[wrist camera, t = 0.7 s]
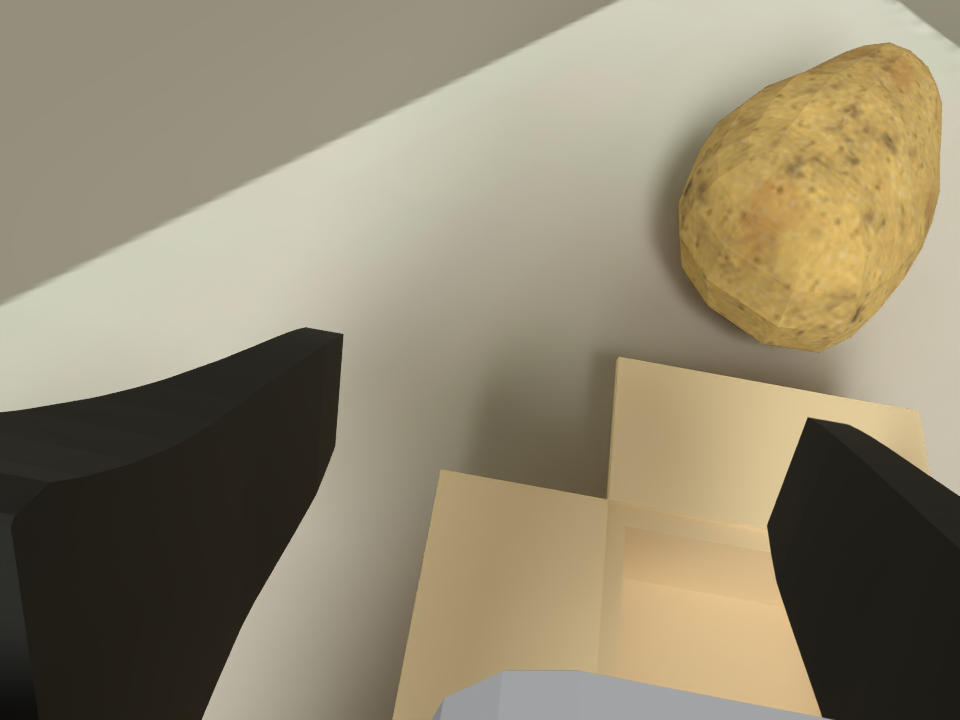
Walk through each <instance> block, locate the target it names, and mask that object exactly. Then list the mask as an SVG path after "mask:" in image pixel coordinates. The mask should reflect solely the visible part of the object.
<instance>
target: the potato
mask: <svg viewBox="0 0 960 720" xmlns="http://www.w3.org/2000/svg"><path fill="white" fill-rule="evenodd" d="M941 124H942V102H941V99H940V95H939V92H938V88H937V85H936V82H935V80H934V78H933V76H932V74H931V72H930V70H929V68H928V67H927V66H926V65H925V64H924V63H923V62H922V60H920V59H919V58H918V57H917V56H916V55H915V54H914V53H912V52H911V51H910V50H907V49H905V48H902V47H900V46H897V45H895V44H892V43H881V44H873V45H865V46H861V47H858V48H856V49H853V50H850V51H847V52H845V53H843V54H841V55H838V56H836V57H834V58H832V59H830V60H828V61H826V62H824V63H822V64H820V65H818V66H816V67H814V68H812V69H810V70H808V71H806V72H804V73H801V74H798V75H795V76H793V77H790V78H788V79H785V80H782V81H780V82H777V83H775V84H772V85H769V86H767V87H765V88H764V89H763V90H761V91H760V92H759V93H757V94H756V95H754V96H753V97H752V98H750V99H749V100H748V101H746V102H745V103H744V104H742V105H741V106H740V107H738V108H737V109H736V110H734V111H733V112H732V113H730V114H729V115H728V116H726V117H725V118H724V119H722V120H721V121H720V122H718V124H717V125H716V127H715V128H714V130H713V131H712V133H711V134H710V136H709V137H708V139H707V140H706V142H705V143H704V145H703V146H702V148H701V149H700V151H699V154H698V156H697V158H696V161H695V163H694V166H693V168H692V170H691V173H690V175H689V178H688V180H687V183H686V185H685V188H684V190H683V193H682V195H681V198H680V200H679V241H680V252H681V263H682V268H683V270H684V271H685V273H686V274H687V276H688V277H689V278H690V280H691V281H692V283H693V284H694V286H695V287H696V289H697V290H698V292H699V293H700V295H701V296H702V298H703V299H704V301H705V302H706V304H707V305H708V306H709V307H710V308H712V309H713V310H715V311H716V312H717V313H719V314H720V315H722V316H723V317H725V318H726V319H728V320H729V321H730V322H732V323H733V324H735V325H736V326H738V327H739V328H741V329H742V330H744V331H745V332H746V333H748V334H749V335H751V336H752V337H754V338H755V339H757V340H758V341H759V342H761V343H762V344H769V345H775V346H781V347H787V348H793V349H799V350H805V351H812V352H818V353H819V352H821V351H823V350H825V349H827V348H829V347H831V346H833V345H835V344H837V343H839V342H841V341H844V340H846V339H848V338H850V337H851V336H852V335H853V334H855V333H856V332H857V331H858V330H859V329H860V328H861V327H862V326H863V325H864V324H865V323H866V322H867V321H868V320H869V319H870V318H871V317H872V316H873V315H874V314H875V313H876V312H877V311H878V310H879V309H880V308H881V306H882V305H883V304H884V303H885V301H886V300H887V299H888V298H889V296H890V295H891V294H892V293H893V291H894V290H895V289H896V288H897V286H898V285H899V284H900V283H901V281H902V280H903V279H904V277H905V276H906V274H907V272H908V271H909V269H910V267H911V266H912V264H913V262H914V261H915V259H916V257H917V256H918V254H919V252H920V250H921V249H922V246H923V244H924V241H925V239H926V236H927V234H928V231H929V229H930V226H931V224H932V220H933V216H934V212H935V208H936V204H937V200H938V196H939V192H940V147H941Z"/></svg>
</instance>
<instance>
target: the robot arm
mask: <svg viewBox="0 0 960 720" xmlns="http://www.w3.org/2000/svg"><path fill="white" fill-rule="evenodd" d="M342 347H343V334H340V333H334V332H329V331H323V330H317V329H312V328H306V327H305V328H301V329H297V330H294V331H291V332H288V333H285V334H283V335H280V336H278V337H275V338H273V339H270V340H268V341H265V342H263V343H261V344H258V345H256V346H253V347H251V348H248V349H246V350H243V351H241V352H238V353H236V354H234V355H231V356H229V357H226V358H224V359H221V360H219V361H216V362H213V363H210V364H207V365H204V366H202V367H199V368H196V369H193V370H190V371H187V372H185V373H182V374H179V375H176V376H173V377H170V378H167V379H164V380H161V381H158V382H154V383H151V384H147V385H144V386H140V387H137V388H133V389H129V390H124V391H120V392H116V393H112V394H108V395H104V396H99V397H95V398H90V399H84V400H78V401H72V402H66V403H61V404H55V405H49V406H43V407H37V408H31V409H25V410H17V411H8V412H0V720H202V717H203V715H204V713H205V710H206V708H207V705H208V703H209V701H210V698H211V696H212V693H213V691H214V689H215V686H216V684H217V682H218V679H219V677H220V675H221V672H222V670H223V668H224V666H225V663H226V661H227V659H228V656H229V654H230V652H231V650H232V647H233V645H234V643H235V640H236V638H237V636H238V634H239V631H240V629H241V627H242V625H243V623H244V621H245V619H246V617H247V615H248V613H249V611H250V610H251V608H252V606H253V604H254V602H255V600H256V598H257V597H258V595H259V593H260V592H261V590H262V588H263V586H264V585H265V583H266V581H267V579H268V578H269V576H270V574H271V573H272V571H273V569H274V567H275V566H276V564H277V562H278V561H279V559H280V557H281V555H282V554H283V552H284V550H285V548H286V547H287V545H288V543H289V542H290V540H291V538H292V536H293V535H294V533H295V531H296V530H297V528H298V526H299V524H300V522H301V521H302V519H303V517H304V515H305V514H306V512H307V510H308V508H309V507H310V505H311V503H312V501H313V499H314V498H315V496H316V494H317V491H318V489H319V486H320V484H321V481H322V479H323V476H324V474H325V471H326V469H327V466H328V464H329V461H330V458H331V456H332V453H333V450H334V448H335V441H336V428H337V415H338V401H339V388H340V374H341V361H342ZM767 530H768V537H769V543H770V550H771V557H772V562H773V567H774V572H775V578H776V582H777V585H778V589H779V592H780V595H781V598H782V601H783V604H784V607H785V610H786V613H787V616H788V619H789V622H790V625H791V628H792V631H793V634H794V637H795V640H796V643H797V645H798V648H799V651H800V654H801V657H802V660H803V663H804V666H805V669H806V672H807V674H808V677H809V680H810V683H811V686H812V689H813V692H814V695H815V698H816V701H817V703H818V706H819V709H820V712H821V716H822V717H817V716H812V715H806V714H801V713H796V712H791V711H786V710H781V709H775V708H770V707H765V706H760V705H755V704H749V703H744V702H739V701H734V700H729V699H724V698H718V697H713V696H708V695H703V694H698V693H692V692H687V691H682V690H677V689H672V688H667V687H661V686H656V685H651V684H646V683H641V682H636V681H630V680H625V679H620V678H615V677H610V676H604V675H599V674H594V673H589V672H584V671H579V670H506V671H502V672H500V673H497V674H495V675H493V676H491V677H489V678H487V679H484V680H482V681H480V682H478V683H476V684H474V685H472V686H469V687H467V688H465V689H463V690H461V691H459V692H456V693H454V694H452V695H450V696H448V697H446V698H444V699H443V701H442V703H441V704H440V706H439V708H438V709H437V711H436V713H435V714H434V716H433V718H432V719H431V720H960V496H958V495H957V494H955V493H954V492H952V491H951V490H949V489H948V488H947V487H945V486H944V485H942V484H941V483H939V482H938V481H936V480H935V479H933V478H932V477H930V476H929V475H928V474H926V473H925V472H923V471H922V470H920V469H919V468H918V467H916V466H915V465H913V464H912V463H910V462H909V461H907V460H906V459H904V458H903V457H902V456H900V455H899V454H897V453H896V452H894V451H893V450H891V449H890V448H888V447H887V446H885V445H884V444H882V443H881V442H879V441H877V440H876V439H874V438H873V437H871V436H869V435H868V434H866V433H864V432H863V431H861V430H859V429H857V428H855V427H853V426H851V425H849V424H844V423H838V422H832V421H827V420H821V419H816V418H810V417H807V420H806V423H805V425H804V428H803V431H802V433H801V436H800V439H799V441H798V444H797V447H796V449H795V452H794V455H793V457H792V460H791V463H790V465H789V468H788V471H787V473H786V476H785V479H784V481H783V484H782V487H781V489H780V492H779V494H778V497H777V500H776V502H775V505H774V508H773V510H772V513H771V516H770V518H769V521H768V524H767Z"/></svg>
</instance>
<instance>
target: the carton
mask: <svg viewBox="0 0 960 720" xmlns="http://www.w3.org/2000/svg"><path fill="white" fill-rule="evenodd" d="M807 417H810V418H816V419H821V420H827V421H832V422H838V423H844V424H849V425H851V426H853V427H855V428H857V429H859V430H861V431H863V432H864V433H866V434H868V435H869V436H871V437H873V438H874V439H876V440H877V441H879V442H881V443H882V444H884V445H885V446H887V447H888V448H890V449H891V450H893V451H894V452H896V453H897V454H899V455H900V456H902V457H903V458H904V459H906V460H907V461H909V462H910V463H912V464H913V465H915V466H916V467H918V468H919V469H920V470H922V471H923V472H925V473H926V474H928V475H929V476H930V473H929V467H928V461H927V455H926V449H925V442H924V436H923V430H922V424H921V418H920V412H919V411H915V410H910V409H904V408H899V407H893V406H888V405H882V404H877V403H871V402H866V401H860V400H855V399H849V398H844V397H838V396H833V395H828V394H822V393H817V392H811V391H806V390H800V389H795V388H789V387H784V386H778V385H773V384H767V383H762V382H756V381H751V380H745V379H740V378H734V377H729V376H723V375H718V374H712V373H707V372H701V371H696V370H690V369H685V368H679V367H674V366H668V365H663V364H658V363H652V362H647V361H641V360H636V359H630V358H625V357H618V359H617V361H616V373H615V387H614V401H613V415H612V429H611V443H610V458H609V472H608V486H607V499H603V498H597V497H592V496H586V495H581V494H575V493H570V492H564V491H559V490H553V489H548V488H542V487H537V486H531V485H526V484H520V483H515V482H509V481H504V480H498V479H492V478H487V477H481V476H476V475H470V474H465V473H459V472H454V471H448V470H443V469H440V475H439V480H438V485H437V490H436V495H435V501H434V506H433V511H432V516H431V521H430V526H429V532H428V537H427V542H426V547H425V552H424V557H423V563H422V568H421V573H420V578H419V583H418V589H417V594H416V599H415V604H414V609H413V614H412V620H411V625H410V630H409V635H408V640H407V645H406V651H405V656H404V661H403V666H402V671H401V677H400V682H399V687H398V692H397V697H396V702H395V708H394V713H393V718H392V720H431V719H432V718H433V716H434V714H435V713H436V711H437V709H438V708H439V706H440V704H441V703H442V701H443V699H444V698H446V697H448V696H450V695H452V694H454V693H456V692H459V691H461V690H463V689H465V688H467V687H469V686H472V685H474V684H476V683H478V682H480V681H482V680H484V679H487V678H489V677H491V676H493V675H495V674H497V673H500V672H502V671H506V670H579V671H584V672H589V673H594V674H599V675H604V676H610V677H615V678H620V679H625V680H630V681H636V682H641V683H646V684H651V685H656V686H661V687H667V688H672V689H677V690H682V691H687V692H692V693H698V694H703V695H708V696H713V697H718V698H724V699H729V700H734V701H739V702H744V703H749V704H755V705H760V706H765V707H770V708H775V709H781V710H786V711H791V712H796V713H801V714H806V715H812V716H817V717H822V716H821V712H820V709H819V706H818V703H817V701H816V698H815V695H814V692H813V689H812V686H811V683H810V680H809V677H808V674H807V672H806V669H805V666H804V663H803V660H802V657H801V654H800V651H799V648H798V645H797V643H796V640H795V637H794V634H793V631H792V628H791V625H790V622H789V619H788V616H787V613H786V610H785V607H784V604H783V601H782V598H781V595H780V592H779V589H778V585H777V582H776V578H775V572H774V567H773V562H772V557H771V550H770V543H769V537H768V530H767V524H768V521H769V518H770V516H771V513H772V510H773V508H774V505H775V502H776V500H777V497H778V494H779V492H780V489H781V487H782V484H783V481H784V479H785V476H786V473H787V471H788V468H789V465H790V463H791V460H792V457H793V455H794V452H795V449H796V447H797V444H798V441H799V439H800V436H801V433H802V431H803V428H804V425H805V423H806V420H807Z"/></svg>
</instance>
